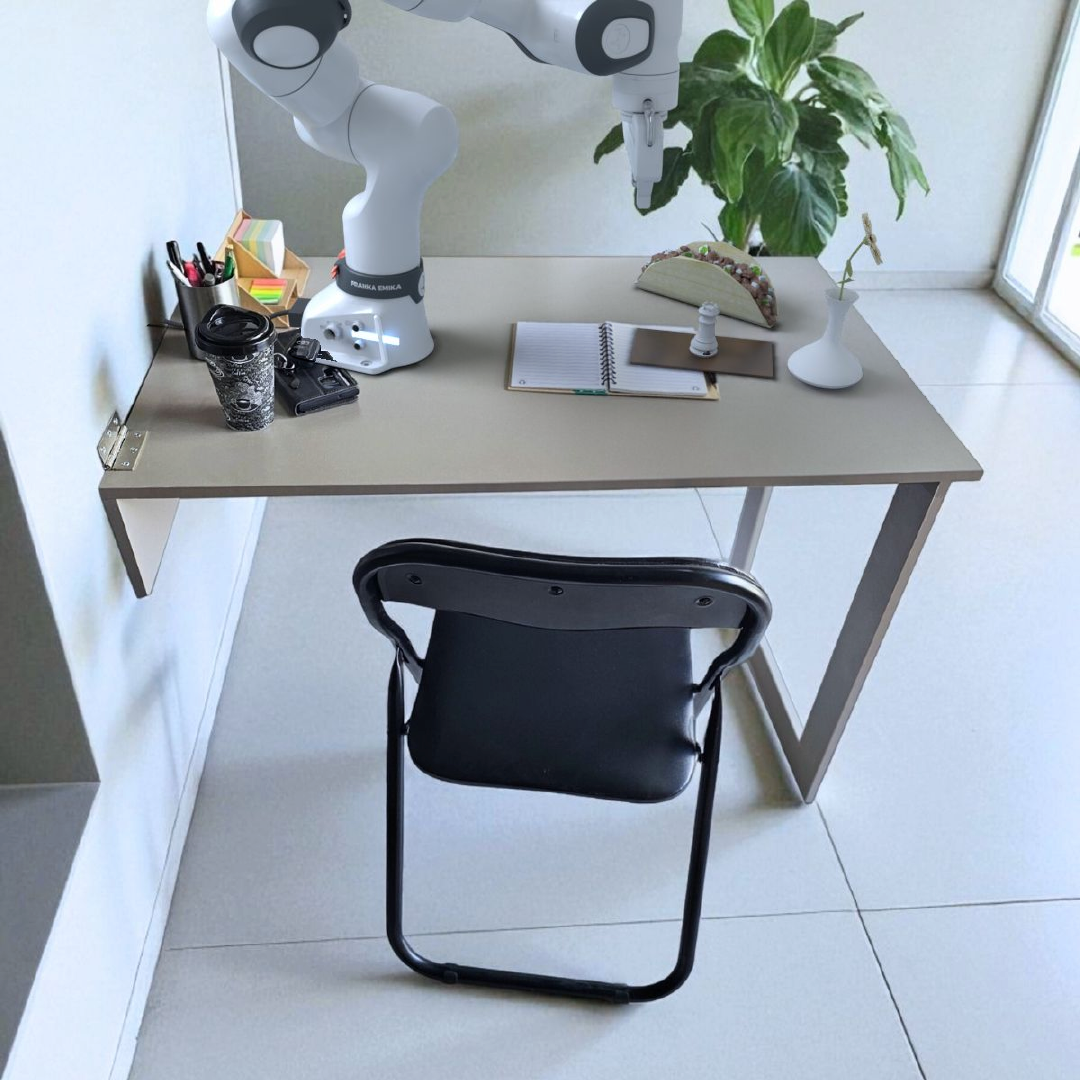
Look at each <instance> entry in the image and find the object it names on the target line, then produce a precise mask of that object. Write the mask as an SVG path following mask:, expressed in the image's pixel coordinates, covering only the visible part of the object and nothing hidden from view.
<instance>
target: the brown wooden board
mask: <svg viewBox="0 0 1080 1080" xmlns="http://www.w3.org/2000/svg"><path fill="white" fill-rule="evenodd" d="M635 331H636V332H635V336H634V343H633V347H632V352H631V357H630V363H629V364H631V365H640V366H648V367H658V368H665V369H668V368H669V369H677V370H684V371H685V370H686V371H693V372H694V371H695V372H705V373H712V374H714V373H715V374H722V375H723V374H724V375H731V376H732V375H733V376H741V377H749V378H750V377H751V378H759V379H768V380H773V379H774V361H773V357H774V356H773V342H772V341H767V340H759V339H758V340H757V339H748V338H738V337H729V336H720V335H718V336H717V335H715V337H716V341H717V343H718V347H717V350H718V351H717V353H716V354H715V355H714V356H712V357H708V358H703V357H698V356H696V355H694V354H693V353H692V352H691V351H690V346H691V341H692V339H693V338H694V336H695V335H696V334H697V333H692V332H691V333H690V332H681V331H672V330H663V329H662V330H661V329H651V328H642V327H637V328H636V330H635Z"/></svg>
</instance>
